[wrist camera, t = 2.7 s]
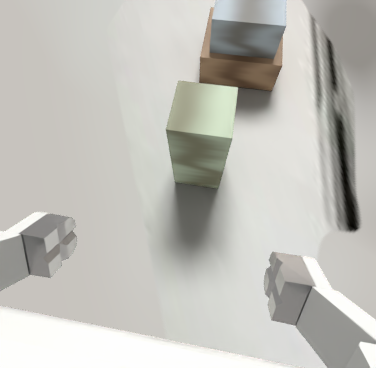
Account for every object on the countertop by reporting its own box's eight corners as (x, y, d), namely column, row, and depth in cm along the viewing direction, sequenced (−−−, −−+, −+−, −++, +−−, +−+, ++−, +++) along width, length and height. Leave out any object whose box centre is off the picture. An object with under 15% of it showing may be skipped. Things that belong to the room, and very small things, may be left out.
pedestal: (273, 41, 36) (295, -22, 28) (271, 90, 32) (295, 32, 24) (208, 35, 36) (213, -28, 29) (199, 82, 33) (201, 24, 25)
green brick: (223, 151, 28) (238, 87, 19) (218, 188, 26) (232, 138, 17) (182, 145, 29) (178, 80, 19) (174, 182, 27) (165, 129, 17)
